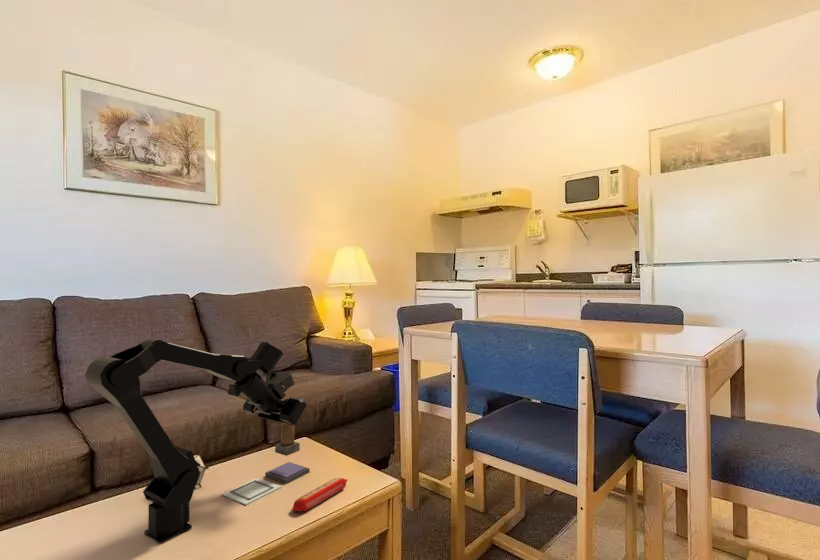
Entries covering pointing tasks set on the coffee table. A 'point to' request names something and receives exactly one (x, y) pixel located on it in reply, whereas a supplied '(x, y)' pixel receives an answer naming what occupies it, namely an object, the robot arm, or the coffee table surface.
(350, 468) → the coffee table surface
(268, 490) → the print card
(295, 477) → the ink pad
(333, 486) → the candy bar
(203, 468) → the game die
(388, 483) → the coffee table surface
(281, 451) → the wooden handle on base
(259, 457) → the coffee table surface
